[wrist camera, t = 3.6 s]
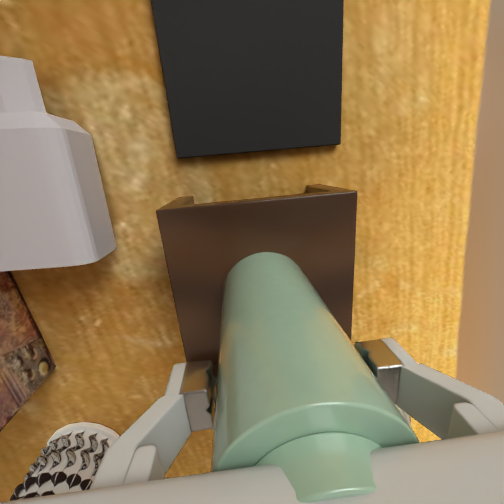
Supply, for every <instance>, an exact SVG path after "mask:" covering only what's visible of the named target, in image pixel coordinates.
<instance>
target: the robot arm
mask: <svg viewBox="0 0 504 504" xmlns="http://www.w3.org/2000/svg"><path fill="white" fill-rule="evenodd" d="M355 347H356V349H357V350H358V352H359V353H360V355H361V356H362V358H363V359H364V360H365V362H366V363H367V365H368V366H369V368H370V369H371V371H372V372H373V373H374V375H375V376H376V378H377V379H378V381H379V382H380V384H381V385H382V386H383V388H384V389H385V391H386V392H387V394H388V395H389V397H390V398H391V400H392V401H393V402H394V404H396V406H398V407H399V408H401V409H402V410H403V411H405V412H406V413H407V414H409V415H410V416H411V417H413V418H414V419H415V420H417V421H418V422H419V423H421V424H422V425H423V426H425V427H426V428H427V429H429V430H430V431H431V432H433V433H434V434H435V435H437V436H438V437H440V438H441V439H442V440H435V441H428V442H421V443H414V444H407V445H400V446H393V447H386V448H379V449H373V450H372V451H371V452H370V461H371V467H372V475H373V480H374V482H375V485H376V487H377V489H376V491H375V492H372V493H369V494H366V495H359V496H353V497H346V498H339V499H333V500H326V501H319V502H313V503H300V502H299V501H298V500H297V498H296V492H295V490H294V488H293V487H292V485H291V483H290V482H289V480H288V479H287V477H286V475H285V474H284V472H283V470H282V469H281V468H280V467H279V466H278V465H275V464H266V465H259V466H252V467H245V468H238V469H230V470H223V471H216V472H209V473H202V474H195V475H188V476H181V477H174V478H167V479H165V476H164V475H165V473H166V472H167V470H168V469H169V467H170V466H171V464H172V463H173V461H174V459H175V458H176V456H177V455H178V453H179V452H180V450H181V449H182V447H183V445H184V444H185V442H186V441H187V439H188V438H189V436H190V435H191V432H193V431H199V430H205V429H211V428H213V424H214V410H215V409H214V403H215V396H216V383H215V376H213V364H212V361H211V360H206V361H195V362H187V363H178V364H175V365H174V366H173V368H172V371H171V375H170V378H169V381H168V385H167V388H166V391H165V395H164V397H160V398H159V399H158V400H157V401H156V402H155V403H154V404H153V405H152V406H151V407H150V408H149V409H148V410H146V411H145V412H144V413H143V414H142V415H141V416H140V417H139V418H138V419H137V420H136V421H135V422H134V423H133V424H132V425H131V426H130V427H129V428H128V429H127V430H126V431H125V432H124V433H123V434H122V435H121V436H120V437H119V438H118V439H117V440H116V441H115V442H114V443H113V444H112V445H111V446H110V447H109V448H108V449H107V450H106V453H105V455H104V457H103V459H102V462H101V464H100V466H99V468H98V470H97V473H96V475H95V477H94V479H93V482H92V484H91V486H90V488H89V490H83V491H76V492H69V493H62V494H55V495H48V496H40V497H33V498H26V499H19V500H12V501H5V502H0V504H504V404H502V403H501V402H500V401H499V400H498V399H497V398H496V397H494V396H492V395H489V394H487V393H485V392H483V391H481V390H478V389H476V388H474V387H472V386H469V385H468V384H465V383H463V382H461V381H459V380H457V379H454V378H452V377H450V376H448V375H446V374H444V373H441V372H439V371H437V370H435V369H433V368H430V367H428V366H426V365H424V364H418V363H417V362H416V361H415V360H414V359H413V358H412V357H411V356H410V355H409V354H408V353H407V352H406V351H405V350H404V349H403V348H402V347H401V346H400V345H399V344H398V343H397V342H396V341H395V339H393V338H391V337H389V338H382V339H377V340H369V341H362V342H356V343H355Z"/></svg>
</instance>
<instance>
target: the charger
mask: <svg viewBox="0 0 504 504" xmlns="http://www.w3.org/2000/svg"><path fill="white" fill-rule="evenodd" d="M116 248H117V246H116V241H115V237H114V233H113V228H112V224H111V220H110V215H109V211H108V206H107V202H106V198H105V193H104V189H103V185H102V180H101V176H100V171H99V167H98V163H97V158H96V154H95V149H94V145H93V141H92V136H91V135H90V134H89V133H88V132H87V131H85V130H84V129H83V128H82V127H80V126H79V125H78V124H76V123H75V122H74V121H72V120H68V119H65V118H62V117H58V116H55V115H51V114H48V113H46V110H45V106H44V103H43V99H42V95H41V92H40V88H39V84H38V80H37V77H36V73H35V69H34V66H33V62H32V61H31V60H26V59H22V58H14V57H6V56H1V55H0V271H13V270H27V269H40V268H54V267H67V266H77V265H84V264H89V263H93V262H96V261H99V260H100V259H102V258H103V257H104V256H106V255H107V254H109V253H110V252H112V251H113V250H115V249H116Z"/></svg>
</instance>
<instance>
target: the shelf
mask: <svg viewBox="0 0 504 504" xmlns="http://www.w3.org/2000/svg"><path fill="white" fill-rule="evenodd" d="M356 210H357V191H353V190H348V189H343V188H337V187H332V186H327V185H321V184H315V185H307V194H297V195H287V196H276V197H266V198H255V199H245V200H234V201H224V202H213V203H203V204H194V198H193V196H188V197H179V198H177V199H176V200H174V201H172V202H170V203H168V204H167V205H165V206H163V207H161V208H160V209H158V210H156V214H157V219H158V224H159V229H160V233H161V238H162V243H163V248H164V253H165V258H166V263H167V268H168V273H169V278H170V283H171V287H172V292H173V297H174V302H175V307H176V312H177V317H178V322H179V327H180V332H181V337H182V342H183V346H184V351H185V356H186V361H187V362H195V361H206V360H211V361H212V364H213V376H215V383H216V382H217V367H218V353H219V339H220V325H221V311H222V297H223V286H224V282H225V279H226V277H227V275H228V273H229V272H230V270H231V269H232V268H233V267H234V266H235V265H236V264H237V263H238V262H239V261H241V260H242V259H244V258H246V257H248V256H250V255H253V254H256V253H262V252H273V253H278V254H282V255H285V256H287V257H289V258H290V259H292V260H293V261H295V262H296V263H297V264H298V265H299V267H300V268H301V269H302V271H303V272H304V273H305V275H306V276H307V278H308V279H309V281H310V282H311V284H312V285H313V286H314V288H315V289H316V291H317V292H318V294H319V295H320V297H321V298H322V300H323V301H324V302H325V304H326V305H327V307H328V308H329V310H330V311H331V313H332V314H333V315H334V317H335V318H336V320H337V321H338V323H339V324H340V326H341V327H342V329H343V330H344V331H345V333H346V334H347V336H348V337H349V339H350V340H351V327H352V303H353V280H354V257H355V234H356Z"/></svg>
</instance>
